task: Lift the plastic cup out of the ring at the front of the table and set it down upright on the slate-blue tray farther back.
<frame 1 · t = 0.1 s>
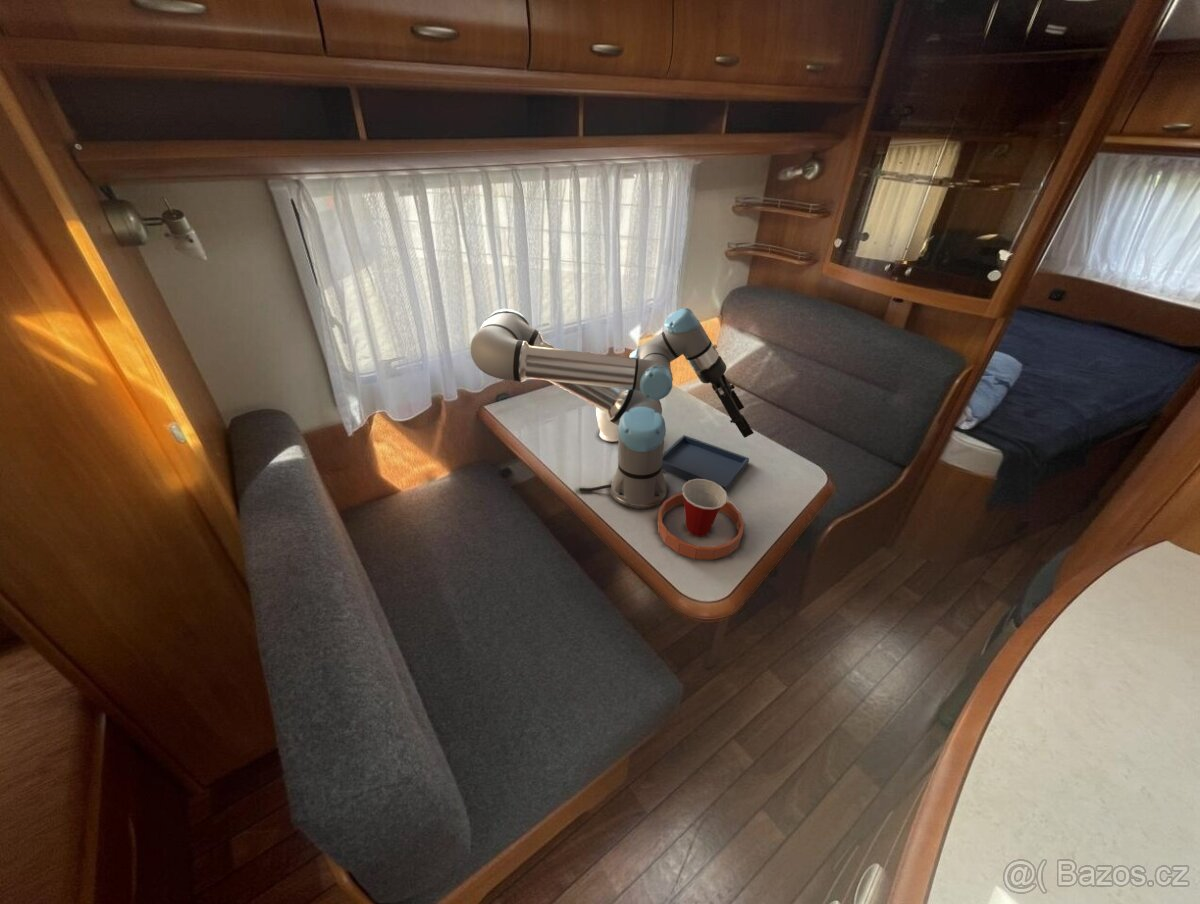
hand: (744, 421, 133), 15 cm above the table, tool tilted 35°, fingers open, 13 cm apart
ring: (698, 528, 120), on the table
tray: (702, 466, 142), on the table
jar: (612, 435, 156), on the table
plastic cup: (698, 529, 120), resting in ring
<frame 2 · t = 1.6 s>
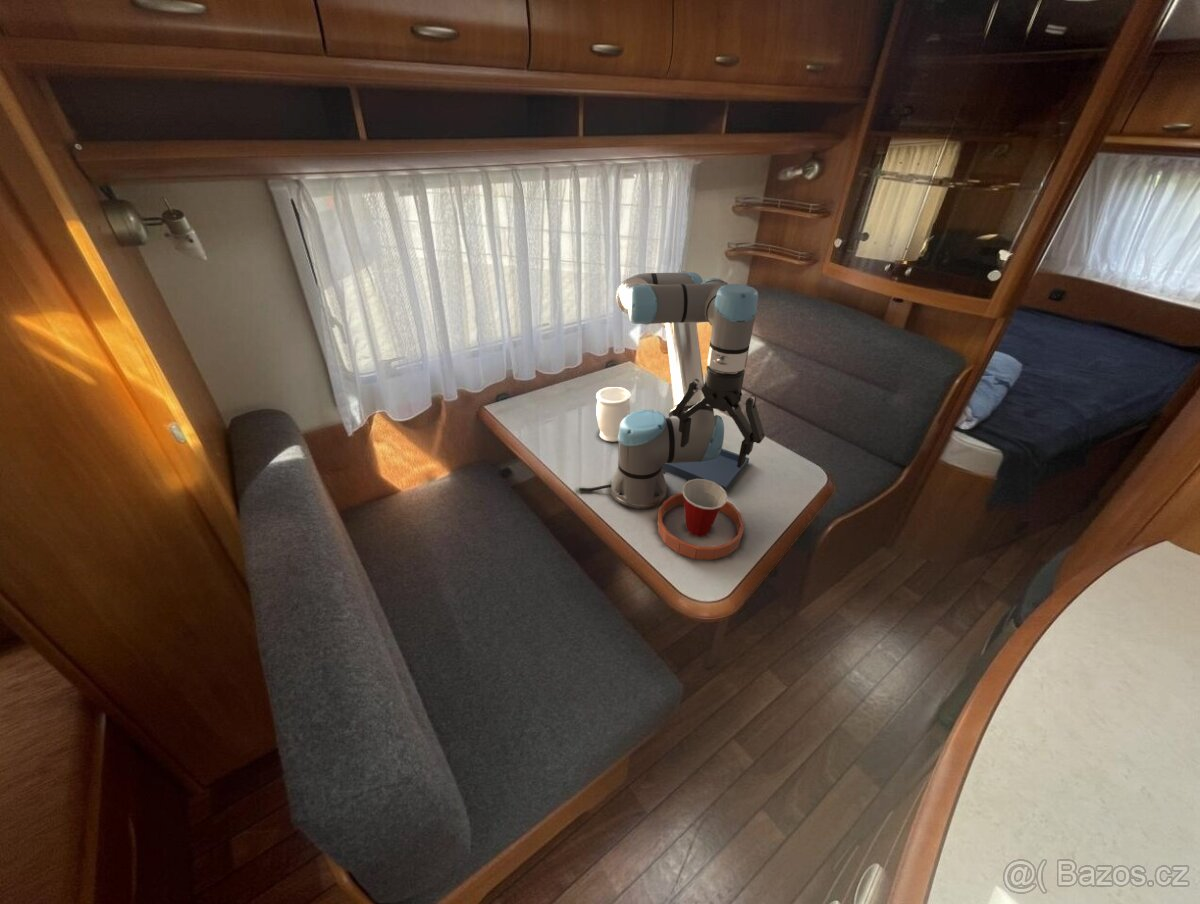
hand: (711, 454, 107), 23 cm above the table, tool pointing down, fingers open, 13 cm apart
nothing on the table moved.
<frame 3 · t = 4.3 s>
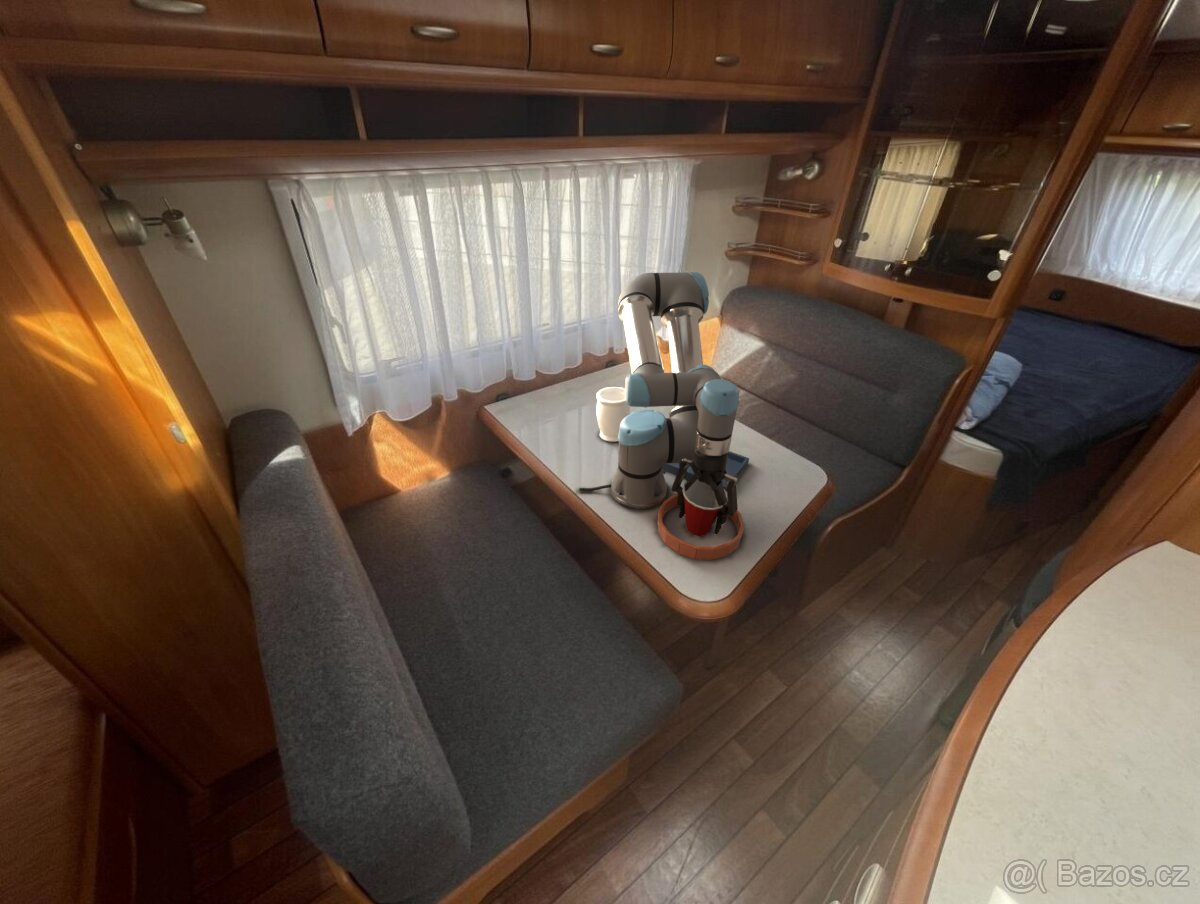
hand: (699, 522, 119), 2 cm above the table, tool pointing down, fingers closed on plastic cup, 9 cm apart
plastic cup: (698, 529, 120), resting in ring, touching gripper
everything else where it was.
when the fingers open (2 cm above the table, at t = 13.7 s): plastic cup stays where it is, resting on tray.
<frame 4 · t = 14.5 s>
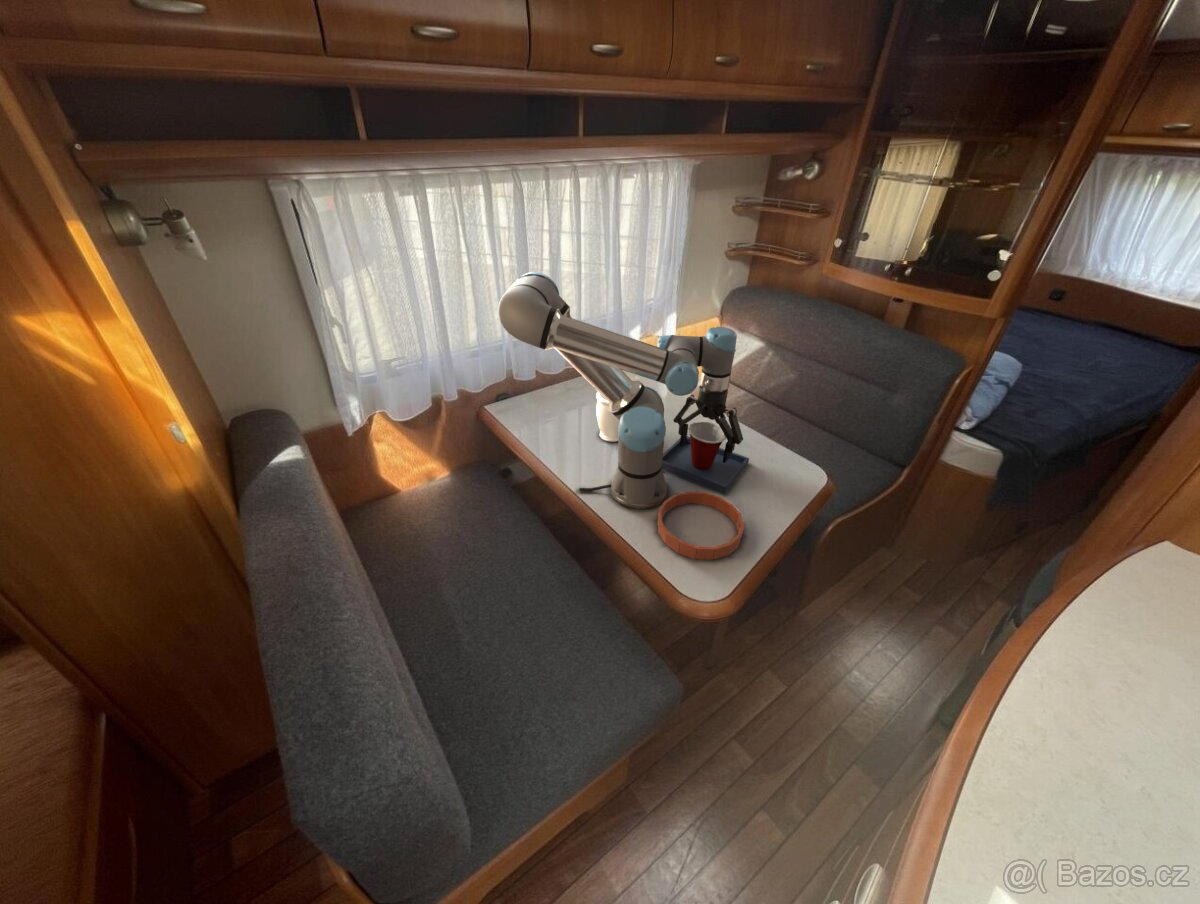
hand: (703, 452, 139), 5 cm above the table, tool pointing down, fingers open, 13 cm apart
plastic cup: (702, 465, 141), resting on tray
everything else where it was.
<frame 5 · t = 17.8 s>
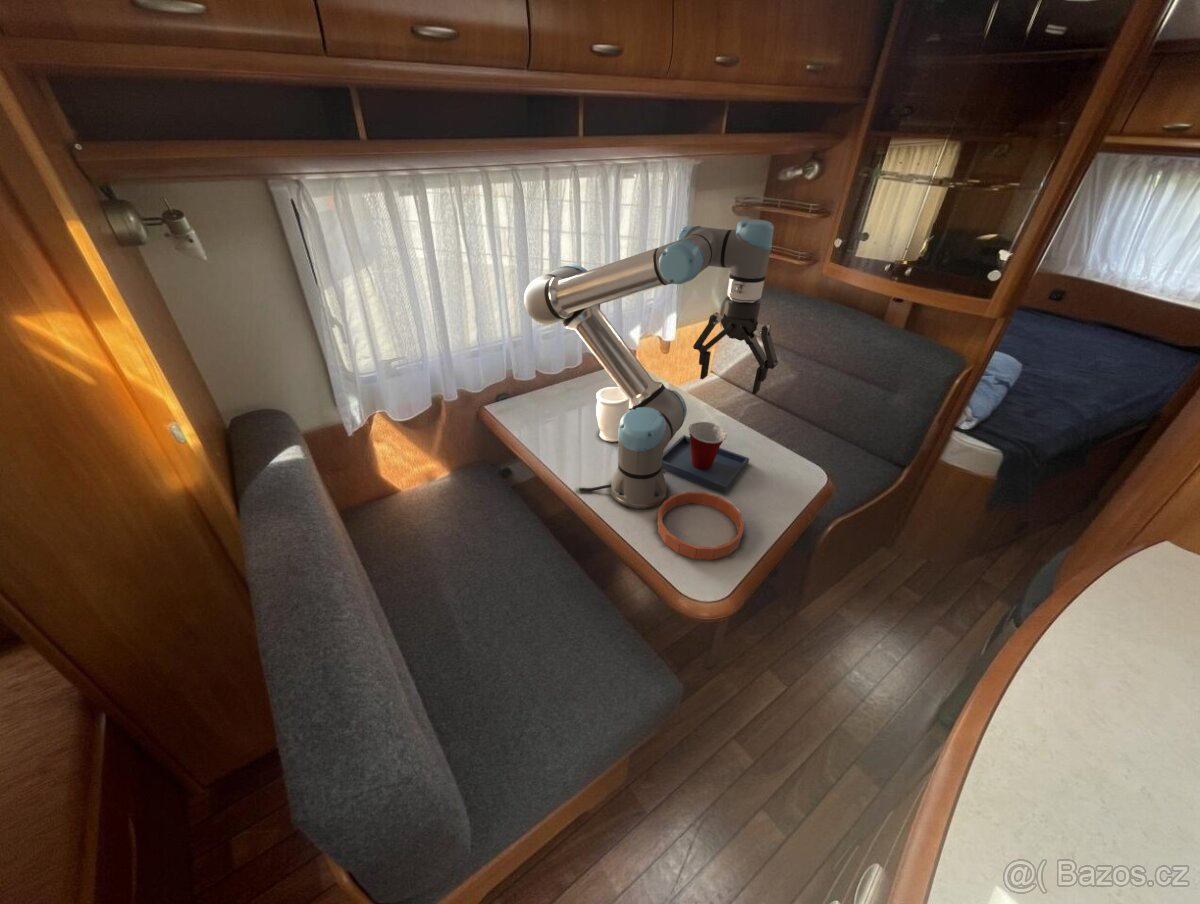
hand: (728, 384, 118), 31 cm above the table, tool pointing down, fingers open, 13 cm apart
nothing on the table moved.
at the end: plastic cup inside the target area in the tray (0.1 cm from its centre), point 0.4 cm above the tray's base; plastic cup tilted 0°; the gripper is holding nothing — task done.
